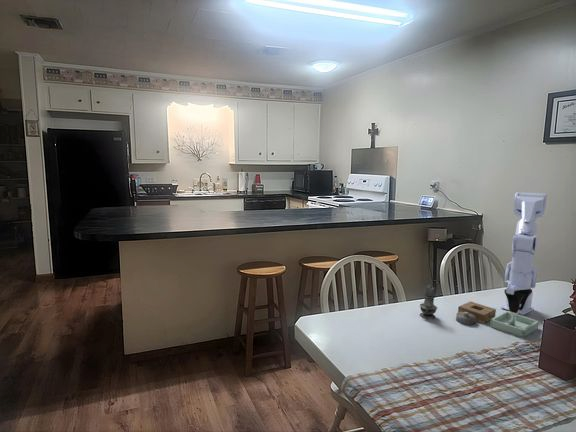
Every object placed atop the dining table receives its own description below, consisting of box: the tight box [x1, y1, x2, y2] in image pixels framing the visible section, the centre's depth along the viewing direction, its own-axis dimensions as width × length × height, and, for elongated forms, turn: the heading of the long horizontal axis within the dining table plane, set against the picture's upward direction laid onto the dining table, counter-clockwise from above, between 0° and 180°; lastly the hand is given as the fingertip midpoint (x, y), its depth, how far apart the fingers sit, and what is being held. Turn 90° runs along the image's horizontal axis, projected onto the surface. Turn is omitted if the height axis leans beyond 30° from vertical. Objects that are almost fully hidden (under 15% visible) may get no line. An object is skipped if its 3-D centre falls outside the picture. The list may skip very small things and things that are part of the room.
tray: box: [489, 310, 540, 339], centre depth 124 cm, size 12×10×2 cm
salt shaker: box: [419, 283, 438, 320], centre depth 131 cm, size 6×6×12 cm
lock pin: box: [507, 303, 521, 326], centre depth 124 cm, size 3×3×8 cm
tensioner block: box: [455, 300, 497, 326], centre depth 131 cm, size 15×9×3 cm, turn 128°
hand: (515, 310), depth 124 cm, fingers open, 4 cm apart
